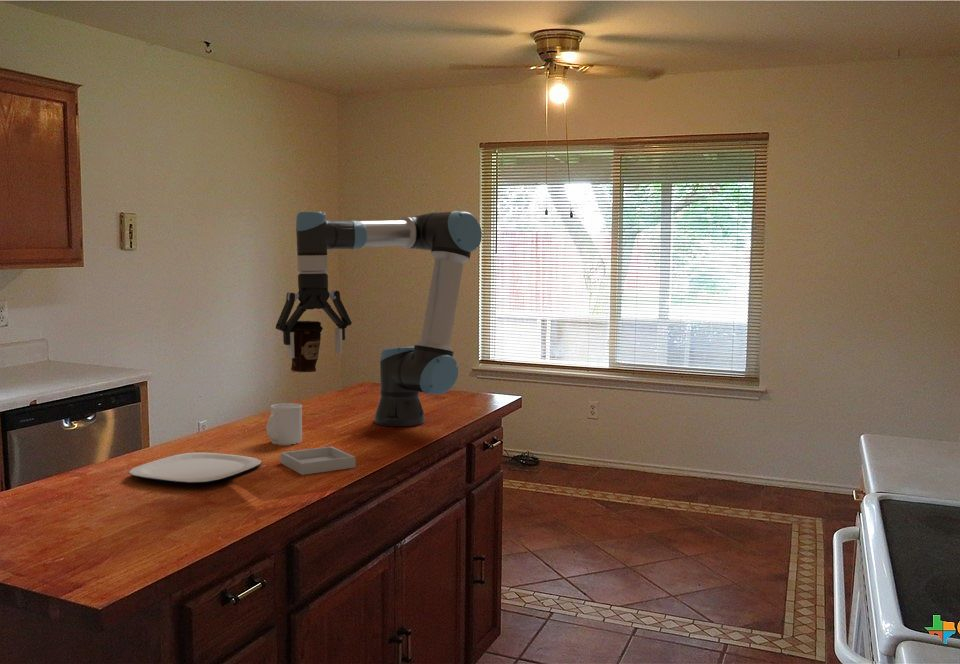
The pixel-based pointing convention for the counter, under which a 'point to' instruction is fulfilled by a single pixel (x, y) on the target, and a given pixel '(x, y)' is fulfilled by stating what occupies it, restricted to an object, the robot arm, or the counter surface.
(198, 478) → the plate
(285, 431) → the mug
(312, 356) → the coffee cup
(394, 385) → the robot arm
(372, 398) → the counter surface
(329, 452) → the gray square tray
